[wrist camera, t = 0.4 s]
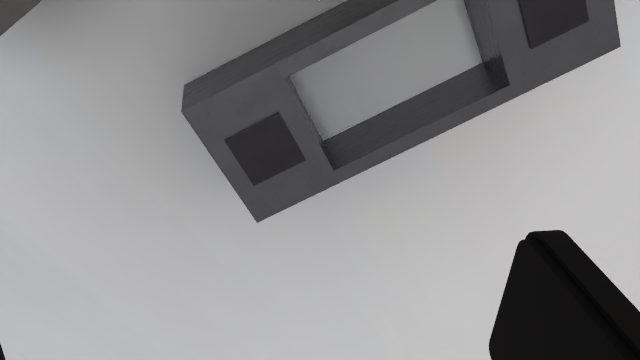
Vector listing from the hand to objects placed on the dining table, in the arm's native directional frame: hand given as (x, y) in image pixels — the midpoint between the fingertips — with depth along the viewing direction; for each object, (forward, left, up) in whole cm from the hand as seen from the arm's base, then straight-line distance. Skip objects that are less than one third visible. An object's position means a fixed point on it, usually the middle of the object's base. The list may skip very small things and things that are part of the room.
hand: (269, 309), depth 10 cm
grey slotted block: (-8, +8, -26) cm, 29 cm away
